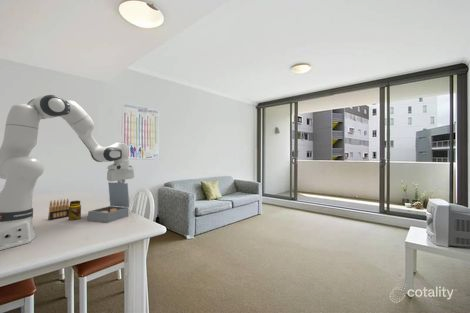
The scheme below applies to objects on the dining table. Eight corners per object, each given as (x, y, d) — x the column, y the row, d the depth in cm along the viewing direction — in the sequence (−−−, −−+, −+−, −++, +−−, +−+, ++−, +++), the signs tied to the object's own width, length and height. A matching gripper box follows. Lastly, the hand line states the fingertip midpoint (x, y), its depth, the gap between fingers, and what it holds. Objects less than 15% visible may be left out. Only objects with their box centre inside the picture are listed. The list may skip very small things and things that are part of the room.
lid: (126, 183, 140) (128, 183, 142) (108, 182, 144) (110, 182, 146) (128, 207, 142) (130, 206, 143) (110, 205, 146) (112, 204, 147)
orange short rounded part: (113, 217, 137) (113, 209, 137) (108, 217, 138) (108, 209, 138) (118, 216, 141) (118, 208, 141) (113, 215, 142) (113, 208, 142)
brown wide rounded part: (103, 220, 130) (104, 212, 130) (98, 220, 131) (98, 211, 131) (109, 219, 134) (109, 210, 134) (104, 218, 135) (104, 210, 135)
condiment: (77, 222, 130) (77, 202, 130) (61, 222, 129) (62, 202, 129) (83, 218, 137) (84, 200, 137) (69, 219, 136) (70, 200, 136)
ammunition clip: (49, 220, 132) (50, 200, 132) (48, 220, 133) (48, 200, 133) (69, 216, 142) (70, 198, 142) (68, 216, 142) (68, 198, 143)
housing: (108, 224, 126) (108, 213, 126) (87, 222, 130) (88, 211, 130) (128, 217, 142) (128, 207, 142) (109, 215, 145) (109, 206, 146)
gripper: (128, 165, 156) (128, 184, 156) (105, 166, 136) (105, 188, 137) (136, 165, 155) (136, 184, 155) (113, 167, 135) (113, 189, 135)
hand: (121, 186), depth 145 cm, fingers closed
